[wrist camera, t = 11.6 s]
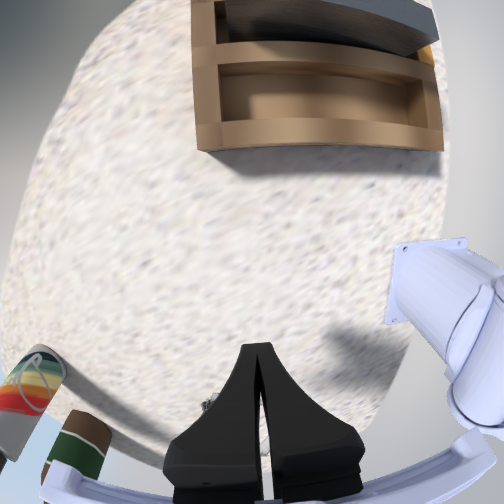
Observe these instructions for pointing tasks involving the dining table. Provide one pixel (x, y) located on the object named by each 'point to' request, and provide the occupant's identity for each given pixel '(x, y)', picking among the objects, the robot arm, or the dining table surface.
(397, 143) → the rack
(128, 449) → the dining table surface
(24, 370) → the lotion bottle
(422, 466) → the robot arm
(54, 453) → the beer bottle
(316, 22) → the panel
